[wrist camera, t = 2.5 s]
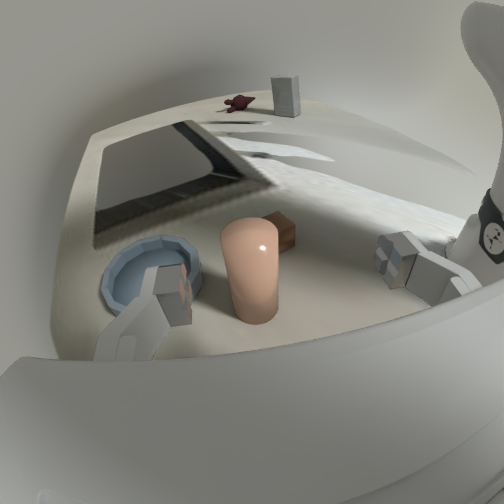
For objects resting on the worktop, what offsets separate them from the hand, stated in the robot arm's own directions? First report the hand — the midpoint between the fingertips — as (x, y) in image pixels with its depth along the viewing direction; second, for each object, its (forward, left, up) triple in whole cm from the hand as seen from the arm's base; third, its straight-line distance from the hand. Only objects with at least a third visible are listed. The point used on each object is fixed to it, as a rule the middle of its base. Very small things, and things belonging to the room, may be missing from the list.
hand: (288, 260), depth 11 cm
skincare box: (-29, -89, -19) cm, 96 cm away
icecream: (-15, -106, -19) cm, 109 cm away
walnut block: (-5, -21, -19) cm, 29 cm away
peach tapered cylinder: (0, -11, -19) cm, 22 cm away
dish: (+13, -18, -19) cm, 29 cm away
